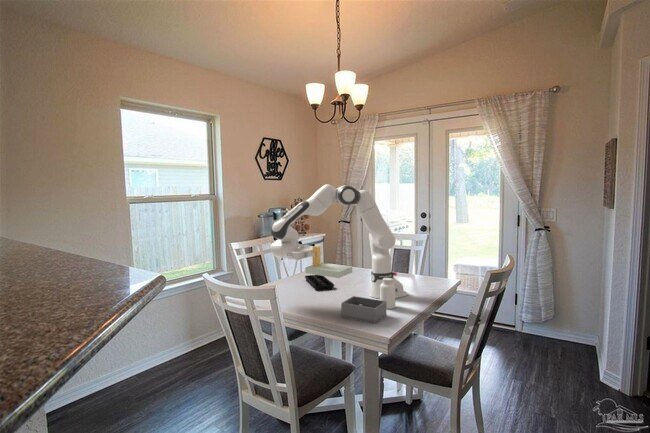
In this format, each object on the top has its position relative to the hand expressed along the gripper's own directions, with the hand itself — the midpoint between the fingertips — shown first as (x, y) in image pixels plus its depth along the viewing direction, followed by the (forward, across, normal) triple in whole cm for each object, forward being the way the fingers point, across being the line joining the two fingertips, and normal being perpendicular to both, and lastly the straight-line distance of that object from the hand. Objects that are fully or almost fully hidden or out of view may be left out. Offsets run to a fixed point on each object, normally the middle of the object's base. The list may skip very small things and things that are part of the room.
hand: (318, 254), depth 185 cm
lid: (+7, 0, +9) cm, 11 cm away
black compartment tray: (-24, +40, +29) cm, 55 cm away
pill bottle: (+31, +19, +28) cm, 46 cm away
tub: (+26, 0, +28) cm, 39 cm away
